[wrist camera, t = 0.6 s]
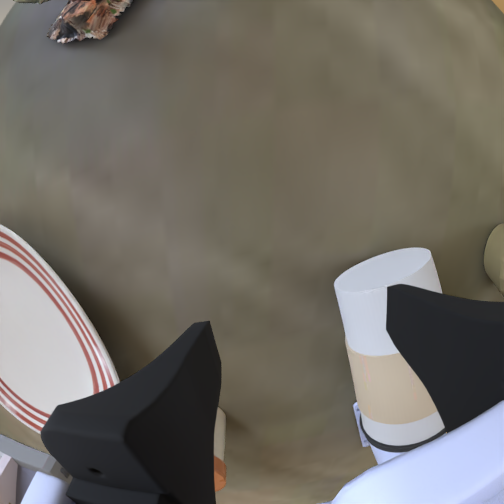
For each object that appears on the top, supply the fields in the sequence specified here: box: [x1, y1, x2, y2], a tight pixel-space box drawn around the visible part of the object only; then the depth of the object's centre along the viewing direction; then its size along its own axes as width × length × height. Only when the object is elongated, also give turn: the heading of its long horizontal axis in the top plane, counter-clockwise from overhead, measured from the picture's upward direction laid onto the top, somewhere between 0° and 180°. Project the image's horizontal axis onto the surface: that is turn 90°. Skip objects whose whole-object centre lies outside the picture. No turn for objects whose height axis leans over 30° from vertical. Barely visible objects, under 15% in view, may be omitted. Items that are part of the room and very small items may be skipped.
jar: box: [214, 407, 226, 462], centre depth 21 cm, size 5×5×7 cm
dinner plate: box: [0, 225, 120, 434], centre depth 21 cm, size 28×27×3 cm
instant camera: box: [0, 435, 73, 504], centre depth 24 cm, size 21×21×15 cm
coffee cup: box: [334, 248, 446, 453], centre depth 18 cm, size 9×9×15 cm
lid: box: [214, 456, 226, 492], centre depth 18 cm, size 6×6×2 cm
